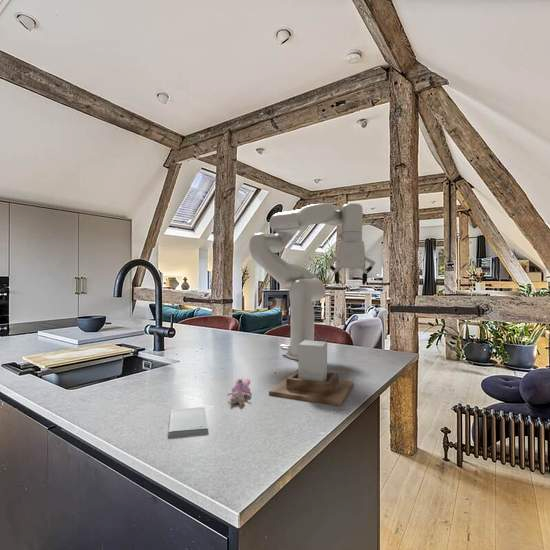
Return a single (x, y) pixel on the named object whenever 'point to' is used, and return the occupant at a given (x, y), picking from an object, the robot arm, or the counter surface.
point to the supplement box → (312, 360)
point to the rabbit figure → (240, 391)
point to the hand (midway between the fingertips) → (350, 284)
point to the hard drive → (187, 422)
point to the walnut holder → (314, 389)
